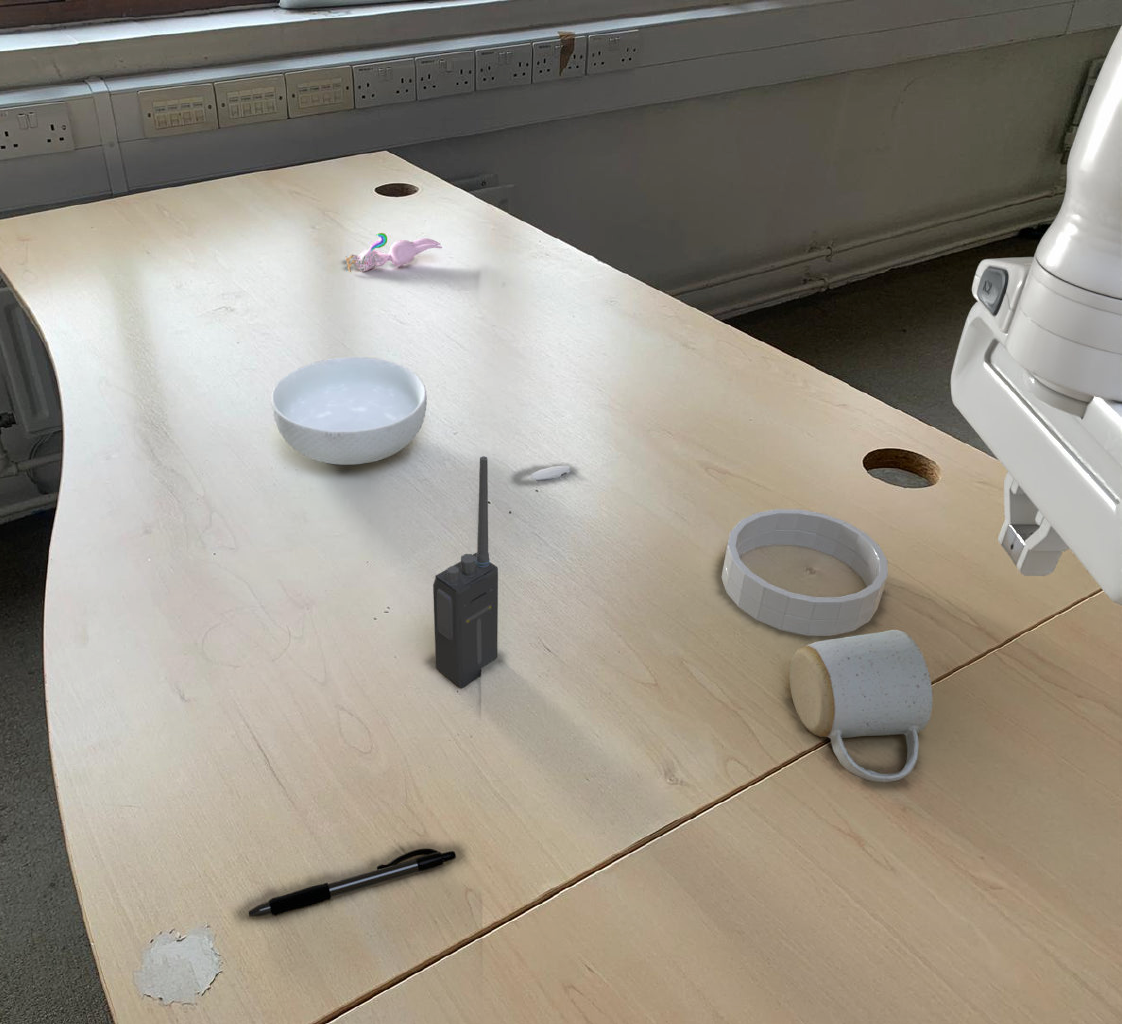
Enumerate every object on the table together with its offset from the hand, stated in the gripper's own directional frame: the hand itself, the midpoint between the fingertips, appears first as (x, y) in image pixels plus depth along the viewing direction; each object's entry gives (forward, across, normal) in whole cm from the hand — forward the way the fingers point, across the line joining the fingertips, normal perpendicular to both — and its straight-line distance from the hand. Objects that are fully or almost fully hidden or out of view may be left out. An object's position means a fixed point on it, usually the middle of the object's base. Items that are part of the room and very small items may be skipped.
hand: (1022, 559), depth 55 cm
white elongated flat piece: (+24, +44, +23) cm, 55 cm away
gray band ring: (+24, +26, +1) cm, 35 cm away
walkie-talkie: (+24, +16, +31) cm, 42 cm away
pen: (+24, -5, +38) cm, 45 cm away
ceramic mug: (+24, +9, +1) cm, 26 cm away
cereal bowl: (+24, +51, +44) cm, 72 cm away
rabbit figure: (+24, +105, +43) cm, 116 cm away
